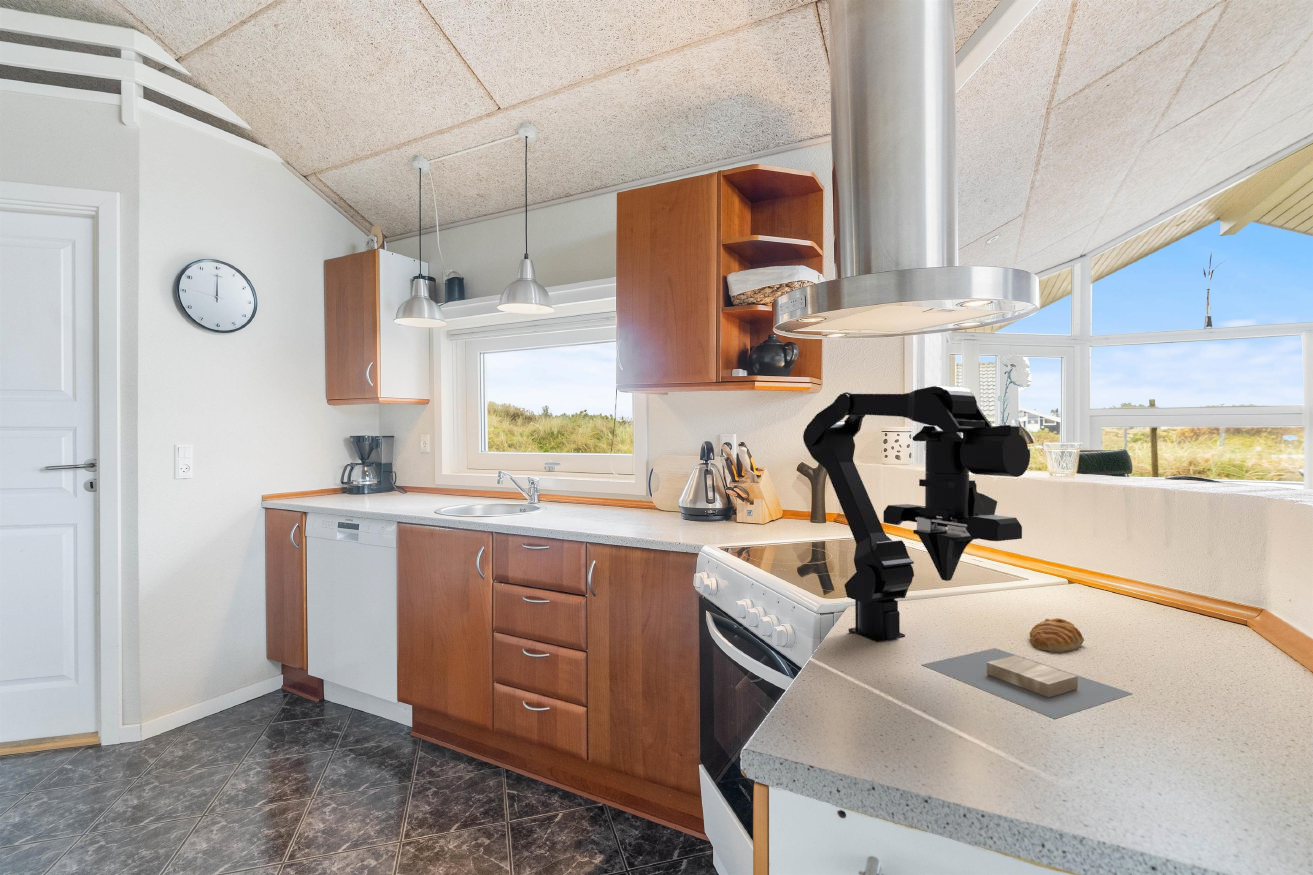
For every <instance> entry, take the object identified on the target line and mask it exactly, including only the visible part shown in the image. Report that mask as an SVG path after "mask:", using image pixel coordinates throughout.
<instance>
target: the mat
mask: <svg viewBox="0 0 1313 875" xmlns="http://www.w3.org/2000/svg"><path fill="white" fill-rule="evenodd" d="M1011 656H1018V657H1021V658H1024V659H1027V660H1030V661H1033V662H1036V663H1039V664H1042V665H1045V666H1048V667H1051V668H1054V669H1057V670H1060V671H1064V672H1067V673H1070V674H1073V675H1076V676H1077V680H1078V689H1075V690H1072V691H1069V692H1065V693H1062V694H1058V695H1055V696H1052V697H1046V696H1043V695H1041V694H1038V693H1035V692H1033V691H1030V690H1028V689H1025V688H1022V687H1020V686H1017V685H1014V684H1012V683H1009V682H1006V681H1004V680H1001V679H998V678H996V677H993V676H990V675H988V674H987V662H990V661H994V660H998V659H1003V658H1007V657H1011ZM921 666H922V667H925V668H927V669H930V670H932V671H935V672H937V673H940V674H942V675H945V676H946V677H950V678H952V679H955V680H956V681H959V682H962V683H964V684H966V685H969V686H972V687H973V688H976V689H979V690H981V691H984V692H986V693H989V694H991V695H994V696H996V697H999V698H1000V699H1003V700H1006V701H1009V702H1011V703H1014V704H1016V705H1018V706H1021V707H1023V708H1025V709H1029V710H1031V711H1032V712H1036V713H1038V714H1041V715H1043V716H1045V717H1048V718H1050V719H1053V720H1057V719H1061V718H1063V717H1067V716H1069V715H1072V714H1075V713H1079V712H1081V711H1085V710H1088V709H1091V708H1094V707H1098V706H1100V705H1103V704H1106V703H1109V702H1112V701H1115V700H1119V699H1121V698H1124V697H1128V696H1131V695H1133V692H1131V691H1130V692H1129V691H1126V690H1124V689H1121V688H1117V687H1114V686H1111V685H1108V684H1105V683H1103V682H1100V681H1097V680H1093V679H1091V678H1090V679H1089V678H1086V677H1083V676H1081V675H1077V674H1075V673H1071V672H1068V671H1065V670H1063V669H1060V668H1057V667H1054V666H1051V665H1047V664H1045V663H1042V662H1038V661H1035V660H1032V659H1029V658H1026V657H1024V656H1020V655H1017V654H1014V653H1010V652H1007V651H1006V650H1001V649H999V648H996V647H995V648H989V649H984V650H980V651H977V652H976V651H975V652H971V653H967V654H963V655H957V656H953V657H949V658H945V659H940V660H935V661H931V662H927V663H921Z"/></svg>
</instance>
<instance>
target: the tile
mask: <svg viewBox="0 0 1313 875" xmlns="http://www.w3.org/2000/svg"><path fill="white" fill-rule="evenodd" d="M1018 656H1019V655H1017V656H1011V657H1007V658H1003V659H998V660H994V661H990V662H987V674H988V675H990V676H993V677H996V678H998V679H1001V680H1004V681H1006V682H1009V683H1012V684H1014V685H1017V686H1020V687H1022V688H1025V689H1028V690H1030V691H1033V692H1035V693H1038V694H1041V695H1043V696H1046V697H1052V696H1055V695H1058V694H1062V693H1065V692H1069V691H1072V690H1075V689H1078V680H1077V676H1076V675H1077V674H1075V675H1073V674H1074V673H1072V674H1070V673H1071V672H1069V673H1067V672H1068V671H1066V672H1064V671H1065V670H1063V671H1060V670H1061V669H1060V670H1057V669H1058V668H1057V669H1054V668H1055V667H1054V668H1051V667H1052V666H1051V667H1048V666H1049V665H1048V666H1045V665H1046V664H1045V665H1042V664H1043V663H1042V664H1039V663H1040V662H1039V663H1036V662H1037V661H1036V662H1033V661H1034V660H1033V661H1030V660H1031V659H1030V660H1027V659H1028V658H1026V659H1024V658H1025V657H1023V658H1021V657H1022V656H1020V657H1018Z"/></svg>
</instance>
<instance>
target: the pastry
mask: <svg viewBox="0 0 1313 875" xmlns="http://www.w3.org/2000/svg"><path fill="white" fill-rule="evenodd" d="M1029 638H1030V642H1031V645H1032V646H1033V647H1034V648H1036V649H1038V650H1043V651H1046V652H1051V653H1065V652H1069V651H1074V650H1077V649H1080V648H1081V647H1082V645H1083V644H1084V641H1085V638H1084V636H1083V633H1082V632H1081V631H1080V630H1079V629H1078V627H1076V626H1075V624H1074V623H1072V622H1070V621H1068V620H1066V619H1062V618H1057V617H1056V618H1052V619H1049V618H1045V619H1044V620H1043V621H1040V622H1039V623H1036V624H1035V625H1034V626H1032V628H1031V630H1030V631H1029Z"/></svg>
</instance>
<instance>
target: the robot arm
mask: <svg viewBox="0 0 1313 875" xmlns="http://www.w3.org/2000/svg"><path fill="white" fill-rule="evenodd" d="M846 416H847V417H846ZM865 416H879V417H880V416H883V417H900V418H901V417H902V418H905V419H909V420H911V421H913V422H914V423H915V422H916V423H919V424H923V425H924V426H923V427H922V428H921V430H920V431H918V432H917V433H916V434H914V435H913V436H912V441H913V442H925V471H924V472H925V475H924V477H925V478H918V483H919V484H918V486H919V487H924V492H925V494H924V495H925V496H924V498H925V499H924V505H919V504H917V505H916V504H909V503H904V504H902V503H901V504H888V505H887V506H886V507H885V509H884V510H883V517H882V518H883V520H882V521H883V524H888V525H894V526H900V525H901V524H902V523H903V522H912V523H916V529H913V530H912V532H913V534H914V535H917V536H918V537H919V540H920V541H921V543H922V545H923V546H924V548H925V549H926V551H927V553H928V555H929V557H930V559H931V561H932V563H933V565H934V567H935V569H936V571H937V573H938V575H939V577H940V579H941V580H942V581H945V582H948V581H949V582H950V581H951V580H952V579H953V577H954V575H955V572H956V569H957V567H958V564H959V562H960V559H961V557H962V555H963V553H964V551H965V550H966V548H967V546H968V545H969V544H970V543H971V542H972V541H973V540H982V541H983V540H984V541H990V542H1003V541H1012V540H1020V539H1021V540H1022V539H1023V526H1022V524H1021V523H1020V521H1019V520H1018V518H1017V517H1013V516H1005V515H997V514H996V509H997V505H998V501H997V500H996V499H994V498H992V497H990V496H989V495H986V494H983V493H980V492H978V490H977V483H976V480H973V479H971V480H970V473H971V474H973V475H976V476H977V475H978V476H992V477H993V476H994V477H995V476H996V477H1010V478H1011V477H1012V478H1017V477H1018V478H1019V477H1021V476H1023V475H1024V474H1025V472H1026V471H1027V469H1028V467H1029V465H1030V461H1031V460H1030V459H1031V450H1030V449H1029V446H1028V444H1027V441H1026V440H1025V438H1024V437H1023V435H1021V433H1020V430H1021V429H1020V428H1021V427H1020V426H1019V425H1018V424H1001V425H997V426H993V425H992V423H991V422H990V421H989V419H988V418H987V416H986V415H985V414H984V412H983V411H982V410H981V408H980V406H978V401H977V399H976V396H975V395H974V394H973V393H972V390H970V389H968V388H965V387H956V386H955V387H954V386H953V387H952V386H939V385H937V386H936V385H934V386H928V387H923V388H919V389H918V388H917V389H915V390H912V391H910V392H906V393H863V392H852V391H851V392H847V391H846V392H842V393H841V394H839V395H838V396H837V397H836V398H835V399H834V401H833V402H832V403H831V404H830V405H828V406H826V407H825V408H824V409H822V410H820V411H819V412H818V413H816V415H815V416H814V417H813V418H812V419H811V420H810V422H808V424H807V425H806V427H805V429H804V431H803V435H802V439H803V443H804V446H805V447H806V449H807V451H808V453H809V455H810V456H811V458H812V459H813V460H814V461H816V462H817V464H819V465H820V466H821V467H822V468H823V469H825V471H826V473H827V475H828V478H829V481H830V483H831V485H832V487H833V490H834V492H835V496H836V498H837V499H838V500H837V501H838V502H839V505H840V507H841V509H842V512H843V514H844V517H845V519H846V522H847V524H848V527H849V528H850V532H851V533H852V537H853V539H854V542H855V549H854V550H855V551H854V556H853V563H854V568H855V573H854V574H853V575H852V576H851V577H850V578H849V579H848V580H847V581H846V582H845V583H844V590H845V594H846V597H847V598H848V599H851V600H854V601H855V603H854V604H855V605H854V606H855V610H854V612H855V616H854V617H855V619H854V620H855V621H854V622H855V625H854V626H855V627H851V628H849V627H848V630H847V631H848V633H850V634H855V635H858V636H859V637H860V636H861V637H863V638H865V639H868V640H870V641H872V642H876V643H881V642H885V641H890V640H895V639H901V638H906V634H905V633H901V631H900V630H901V628H900V620H901V619H900V616H901V615H900V614H901V613H900V611H899V603H898V600H896V599H905V598H906V596H907V594H908V590H909V587H910V586H911V585H912V582H913V578H914V577H915V572H914V568H913V564H914V563H915V562H914V560H913V559H912V558H911V556H910V555H909V553H908V550H907V547H906V544H905V542H904V541H903V540H902V539H899V540H898V539H897V540H893V539H891V538H890V537H889V536H888V535H886V534H887V533H886V532H885V530H884V528H883V526H882V523H881V522H880V519H879V517H878V514H877V512H876V510H875V508H874V505H873V503H872V501H871V498H870V497H869V494H868V491H867V489H866V487H865V485H864V482H863V480H862V477H861V475H860V473H859V471H858V469H857V466H856V464H855V462H854V455H855V449H856V443H855V440H854V438H855V437H856V435H857V434H858V433H860V431H861V428H862V425H863V424H862V423H863V419H864V418H865ZM845 417H846V419H845ZM844 419H845V420H844ZM842 420H844V421H842ZM936 427H937V428H938V429H937V428H936ZM939 429H940V430H939ZM960 433H961V434H962V436H961V435H960Z"/></svg>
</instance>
